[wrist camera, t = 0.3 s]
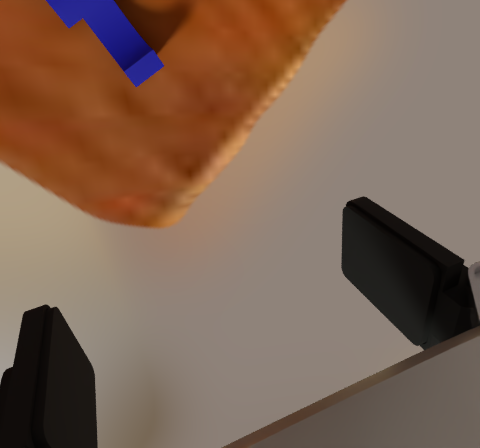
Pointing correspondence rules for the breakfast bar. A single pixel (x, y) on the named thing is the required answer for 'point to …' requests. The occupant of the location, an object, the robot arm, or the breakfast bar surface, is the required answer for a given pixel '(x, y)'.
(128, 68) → the blue curved piece
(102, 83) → the breakfast bar surface
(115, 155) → the breakfast bar surface
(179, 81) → the breakfast bar surface
